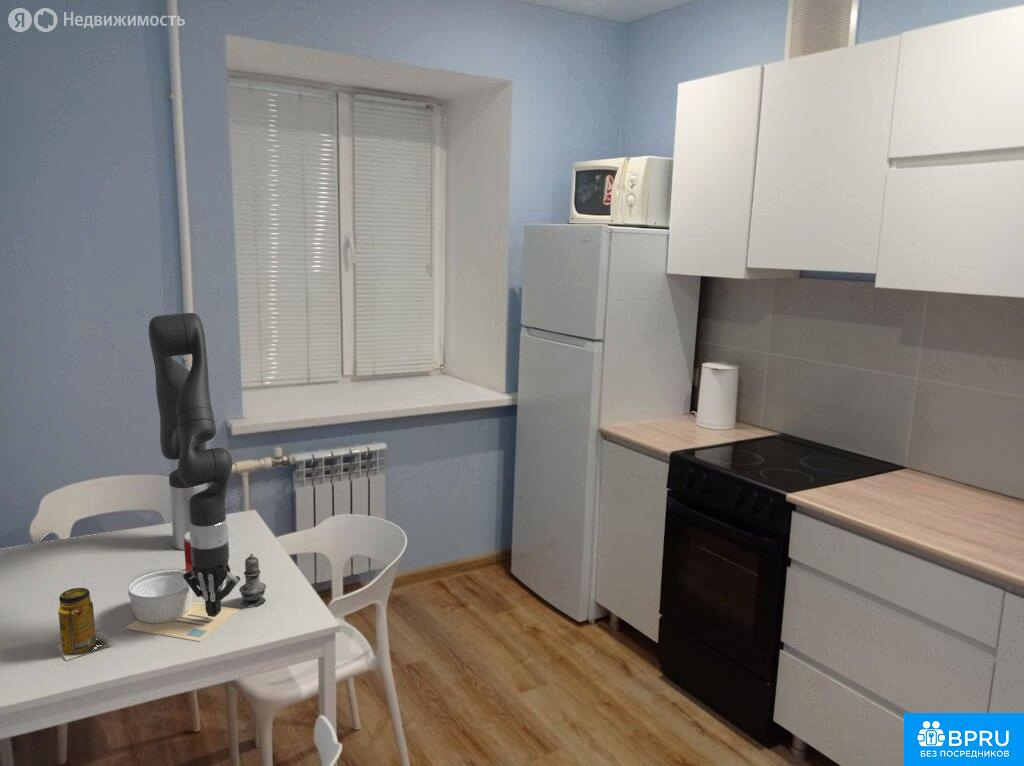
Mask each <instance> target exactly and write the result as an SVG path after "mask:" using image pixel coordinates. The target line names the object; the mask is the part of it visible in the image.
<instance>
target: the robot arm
mask: <svg viewBox="0 0 1024 766" xmlns="http://www.w3.org/2000/svg"><path fill="white" fill-rule="evenodd" d="M148 338H149V343H150V348H151V354H152V360H153V365H154V369H155V370H154V373H155V391H156V399H157V400H156V401H157V406H158V412H159V421H160V423H159V424H160V425H159V429H160V430H159V431H160V433H159V440H160V450H161V453H162V455H163V456H164V458H165V459H167V460H175V461H176V460H178V462H177V463H178V465H177V469H175V470H173V471H171V473H170V474H169V476H168V483H169V484H168V485H169V495H170V496H169V497H170V498H169V499H170V510H171V511H170V514H171V527H172V531H171V532H172V544H173V547H174V548H175V549H177V550H184V535H185V534H186V533H187V532H189V531H190V545H191V561H192V564H193V565H192V569H191V570H190V571H188V572H186V571H185V572H186V573H185V574H184V575H183V578H184V579H185V580H186V582H187V583H188V585H189V586H190V587H191V589H192V590H193V594H195V596H196V597H198V598H200V597H201V598H203V600H204V602H205V606H206V613H207V614H208V616H211V617H215V616H217V615H218V614H219V612H221V606H222V602H221V601H222V600H223V599H224V598H226V597H227V596H229V595H230V593H231V592H232V591H233V589H234V588H235V587H236V586H237V585H238V583H239V582H240V581H241V577H240V576H239V575H236V576H234V574H232V573H231V568H230V565H229V560H230V547H229V545H230V544H229V529H228V528H229V527H228V524H227V513H226V511H227V510H226V497H227V490H228V487H229V482H230V479H231V475H232V470H233V458H232V455H231V453H230V452H229V451H228V450H227V449H225V448H224V447H215V448H206V447H207V442H209V441H211V440H212V439H214V437H215V436H216V435H217V428H216V422H215V417H214V412H213V407H212V402H211V397H210V380H209V379H210V378H209V367H208V365H209V364H208V355H207V345H206V344H207V343H206V337H205V330H204V326H203V323H202V319H201V317H200V316H199V315H198V314H197V313H196V312H183V313H172V314H162V315H157V316H154V317H151V318H150V320H149V324H148ZM186 355H191V356H192V357H191V359H192V360H191V367H190V370H189V369H188V368H186V367H185V366H184V365H183V364H181V363H179V362H178V361H177V360H175V359H174V357H178V356H186ZM209 483H210V484H211V485H210V486H209V487H208V484H209ZM224 582H225V583H224ZM224 585H225V586H224ZM223 587H224V588H223Z"/></svg>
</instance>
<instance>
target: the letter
mask: <svg viewBox="0 0 1024 766" xmlns="http://www.w3.org/2000/svg"><path fill="white" fill-rule="evenodd" d="M193 602H194V603H193ZM239 611H240V609H239V608H234V607H228V606H222V605H221V612H219V614H218V615H217V616H215V617H211V616H208V614H207V613H206V606H205V603H204V602H198V601H197V602H196V601H192V604H191V607H190V609H189V610H188V611H187V613H186V614H184V615H183V616H181V617H180V618H178V619H175V620H172V621H169V622H165V623H145V622H142V621H140V620H139V619H138V618H137V619H136V620H135V621H134V622H132V623H131V624H129V625H128V626H126V627H125V629H126V630H130V631H131V630H132V631H137V632H142V633H143V632H144V633H148V634H154V635H159V636H160V635H161V636H165V637H172V638H177V639H183V640H187V641H194V642H201V641H203V640H204V639H205V638H206V637H207V636H208V635H210V634H211V633H212V632H214V631H215V630H216V629H218V628H219V627H220V626H222V624H223V623H225V622H227V620H229V619H231V617H232V616H234V615H235V614H236V613H237V612H239ZM233 614H234V615H233Z"/></svg>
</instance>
